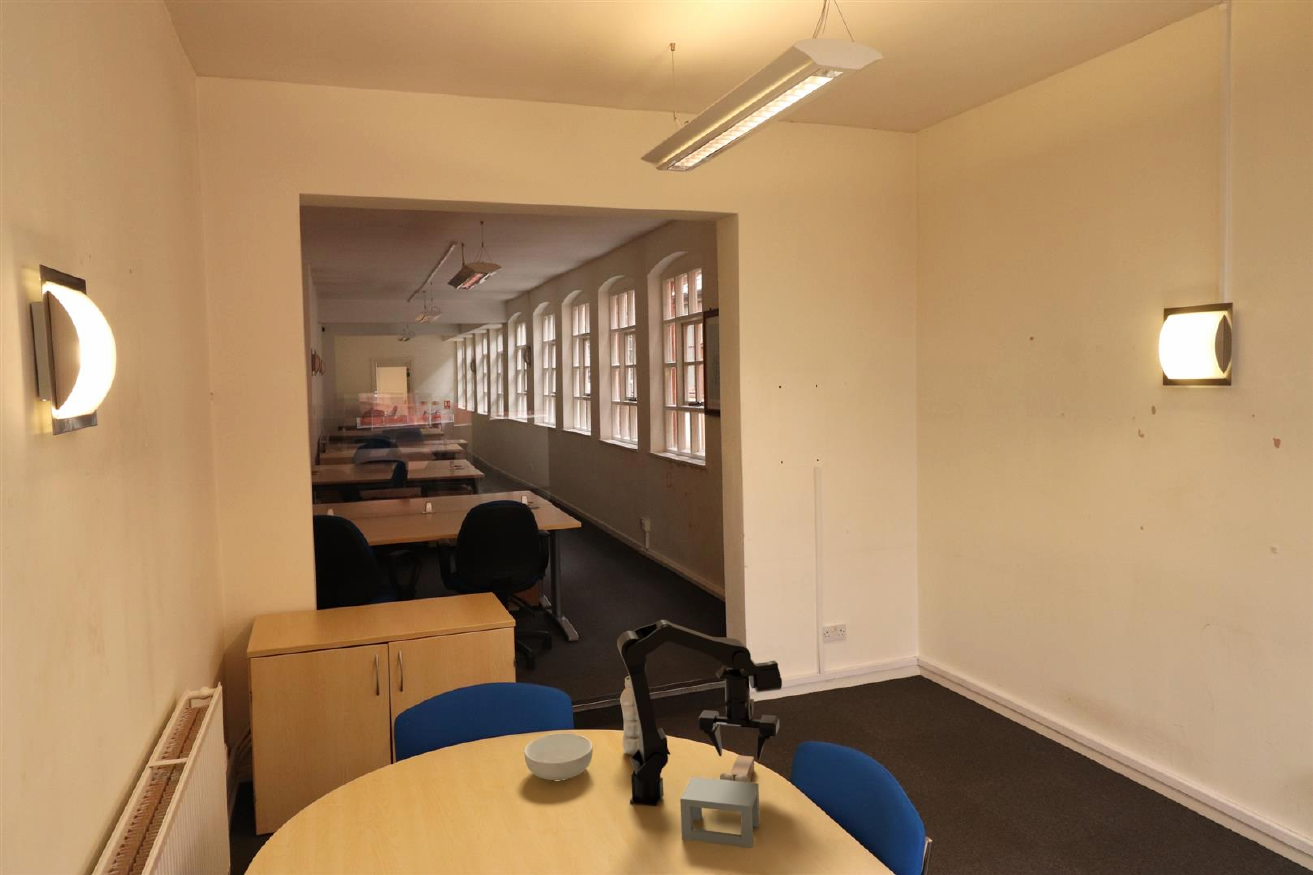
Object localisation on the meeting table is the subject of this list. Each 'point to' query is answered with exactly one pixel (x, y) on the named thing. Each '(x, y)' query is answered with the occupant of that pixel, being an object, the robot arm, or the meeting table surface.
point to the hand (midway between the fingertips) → (739, 757)
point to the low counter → (720, 798)
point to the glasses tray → (740, 770)
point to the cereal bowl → (558, 755)
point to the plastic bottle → (629, 720)
